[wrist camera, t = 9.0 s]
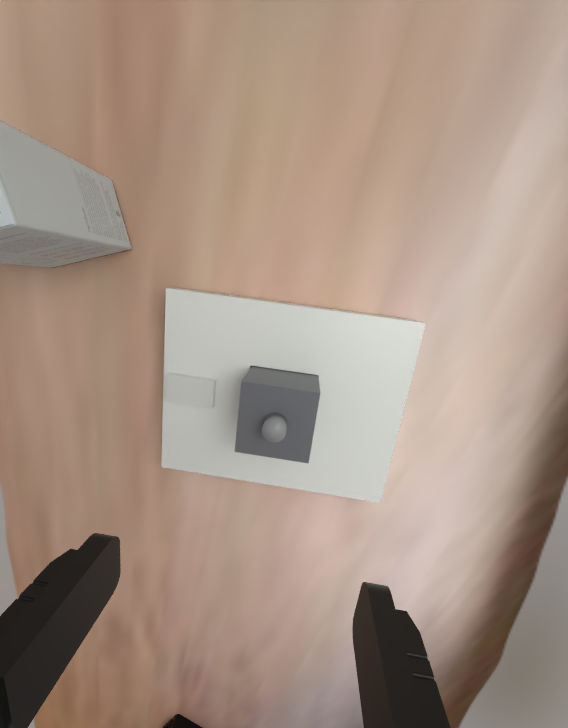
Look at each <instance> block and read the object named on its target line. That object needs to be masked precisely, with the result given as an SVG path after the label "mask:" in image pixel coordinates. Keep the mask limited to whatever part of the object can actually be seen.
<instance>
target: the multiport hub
mask: <svg viewBox="0 0 568 728" xmlns="http://www.w3.org/2000/svg"><path fill="white" fill-rule="evenodd" d="M163 728H202V727H200V726H199V725H197V724H195V723H194V722H192V721H190V720H188V719H187V718H185V717H183V716H182V715H180V714H177V715H175V716H174V717H173V718H172V719H171V720H170V721H169V722H168V723H167V724H166V725H165V726H164V727H163Z"/></svg>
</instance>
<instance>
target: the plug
mask: <svg viewBox="0 0 568 728" xmlns="http://www.w3.org/2000/svg"><path fill="white" fill-rule="evenodd" d="M319 399H320V385H319V377H318V375H313V374H307V373H300V372H293V371H286V370H279V369H272V368H265V367H259V366H252V367H251V369H250V370H249V371H248V373H247V374H246V376H245V377H244V378H243V380H242V381H241V389H240V400H239V410H238V421H237V431H236V442H235V452H239V453H245V454H252V455H258V456H264V457H271V458H277V459H283V460H290V461H296V462H302V463H308V464H309V458H310V452H311V446H312V440H313V434H314V428H315V422H316V416H317V410H318V404H319Z"/></svg>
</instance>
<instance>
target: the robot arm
mask: <svg viewBox="0 0 568 728" xmlns="http://www.w3.org/2000/svg"><path fill="white" fill-rule="evenodd" d="M119 577H120V540H119V538H118V537H115V536H110V535H104V534H99V533H94V534H92V535H91V536H90V537H89V538H88V539H87V540H86V541H85V542H84V544H83V545H82V546H81V547H80V548H79V549H78V550H73V549H70V550H68V551H67V552H65V553H64V554H62V555H61V556H59V557H58V558H56V559H55V560H54V561H52V562H51V563H50V564H49V565H48V566H47V567H46V568H45V569H44V570H43V571H42V572H41V573H40V574H39V575H38V576H37V577H36V579H35V580H34V582H33V583H32V584H30V585H29V586H28V587H27V588H26V589H25V590H24V591H23V592H22V593H21V595H20V597H19V598H18V599H16V600H15V601H14V602H13V603H12V604H11V605H10V606H9V607H8V608H7V609H6V611H5V612H4V613H3V614H2V615H1V616H0V728H28V726H29V725H30V723H31V721H32V720H33V718H34V717H35V715H36V714H37V712H38V710H39V709H40V707H41V706H42V704H43V703H44V701H45V700H46V698H47V696H48V695H49V693H50V692H51V690H52V689H53V687H54V685H55V684H56V682H57V681H58V679H59V678H60V676H61V674H62V673H63V671H64V670H65V668H66V667H67V665H68V663H69V662H70V660H71V659H72V657H73V656H74V654H75V653H76V651H77V649H78V648H79V646H80V645H81V643H82V642H83V640H84V638H85V637H86V635H87V634H88V632H89V631H90V629H91V627H92V626H93V624H94V623H95V621H96V620H97V618H98V616H99V615H100V613H101V612H102V610H103V609H104V607H105V606H106V604H107V602H108V601H109V599H110V598H111V596H112V594H113V593H114V591H115V589H116V586H117V584H118V581H119ZM353 644H354V652H355V660H356V668H357V676H358V684H359V692H360V700H361V708H362V716H363V724H364V728H450V725H449V722H448V719H447V715H446V712H445V709H444V706H443V703H442V700H441V697H440V694H439V690H438V687H437V684H436V682H435V681H434V675H433V672H432V669H431V666H430V662H429V661H428V659H427V653H426V650H425V647H424V644H423V641H422V638H421V634H420V632H419V630H418V629H417V627H416V625H415V624H414V622H413V621H412V619H411V618H410V616H409V614H408V613H407V611H402V610H397V609H395V606H394V602H393V599H392V595H391V592H390V589H389V587H388V586H384V585H378V584H373V583H367V582H363V583H362V586H361V590H360V594H359V598H358V601H357V605H356V609H355V613H354V618H353Z"/></svg>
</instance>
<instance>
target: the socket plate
mask: <svg viewBox="0 0 568 728" xmlns="http://www.w3.org/2000/svg"><path fill="white" fill-rule="evenodd" d="M425 324H426V323H423V322H420V321H416V320H413V319H406V318H399V317H391V316H384V315H376V314H369V313H362V312H354V311H347V310H340V309H332V308H325V307H317V306H310V305H303V304H295V303H288V302H280V301H273V300H266V299H258V298H251V297H244V296H236V295H229V294H221V293H214V292H207V291H199V290H192V289H184V288H166V305H165V344H164V384H163V424H162V463H161V467H164V468H170V469H176V470H182V471H189V472H195V473H201V474H207V475H213V476H219V477H225V478H231V479H237V480H244V481H250V482H256V483H262V484H268V485H274V486H280V487H286V488H292V489H298V490H305V491H311V492H317V493H323V494H329V495H335V496H341V497H347V498H353V499H359V500H366V501H372V502H378V503H381V500H382V496H383V492H384V488H385V484H386V480H387V476H388V472H389V468H390V464H391V460H392V456H393V452H394V448H395V444H396V440H397V436H398V432H399V428H400V424H401V420H402V416H403V412H404V408H405V404H406V400H407V396H408V392H409V388H410V384H411V380H412V376H413V372H414V368H415V364H416V360H417V356H418V352H419V348H420V344H421V340H422V336H423V332H424V328H425ZM252 366H259V367H265V368H272V369H279V370H286V371H293V372H300V373H307V374H313V375H318V377H319V385H320V399H319V404H318V410H317V416H316V422H315V428H314V434H313V440H312V446H311V452H310V458H309V464H308V463H302V462H296V461H290V460H283V459H277V458H271V457H264V456H258V455H252V454H245V453H239V452H235V442H236V431H237V421H238V410H239V400H240V389H241V381H242V380H243V378H244V377H245V376H246V374H247V373H248V371H249V370H250V369H251V367H252Z"/></svg>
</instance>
